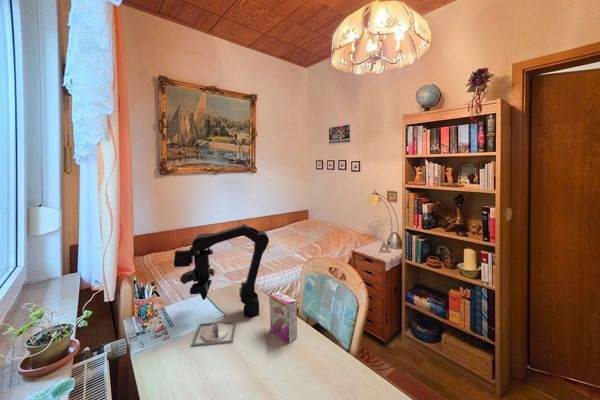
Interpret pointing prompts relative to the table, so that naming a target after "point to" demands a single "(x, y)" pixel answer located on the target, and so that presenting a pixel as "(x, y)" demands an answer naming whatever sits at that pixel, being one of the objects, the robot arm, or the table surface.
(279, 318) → the candy bar box
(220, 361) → the table surface
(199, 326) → the panel
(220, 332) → the dial
